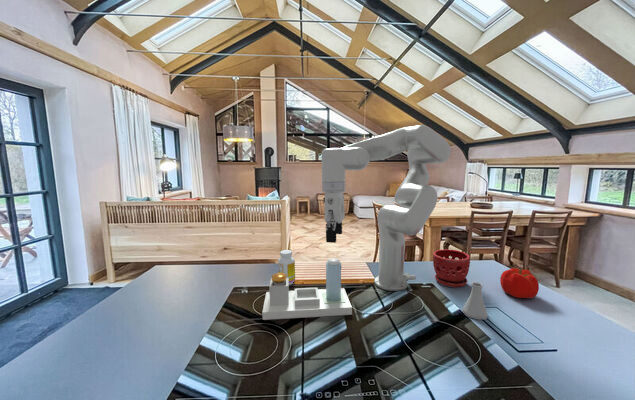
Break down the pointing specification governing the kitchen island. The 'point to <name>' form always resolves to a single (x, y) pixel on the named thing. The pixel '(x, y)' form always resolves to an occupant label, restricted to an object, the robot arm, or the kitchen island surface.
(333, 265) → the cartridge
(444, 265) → the plant pot
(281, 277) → the plunger
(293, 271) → the supplement bottle
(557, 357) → the kitchen island surface
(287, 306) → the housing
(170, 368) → the kitchen island surface
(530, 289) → the tomato
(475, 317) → the flask
